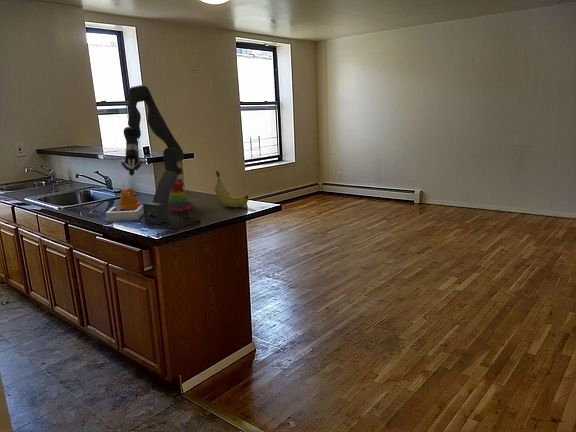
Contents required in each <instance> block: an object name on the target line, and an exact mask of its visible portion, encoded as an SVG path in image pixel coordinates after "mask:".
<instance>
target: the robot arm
mask: <svg viewBox="0 0 576 432" xmlns="http://www.w3.org/2000/svg"><path fill="white" fill-rule="evenodd" d="M140 102H145V104H146V107H147V124H148V125H149V127H150V130H151V132H152V133H153V134H155V136H157V138H159V139H160V140H161V141H162V142H163V143H164V144H165V145H166V148H165V149H164V150H163V152H162V153H163V154H162V156H163V163H164V169H165V171H170V172H176V173H177V174H178V177H177V179H182V181H183V182H184V175H183V169H182V168H181V167H179V166H178V164H177V163H179V162H182V161H183V160H184V158H185V157H184V156H185V155H184V151H183V149H182V148H181V146H180V144H179V143H178V141H177V140H176V139H175V138H174V135H173V134H172V132H171V130H170V129H169V127H168V125H167V123H166V121H165V119H164V118H163V116H162V114H161V113H160V110H159V108H158V106H157V104H156V102H155V99H154V98H153V96H152V94H151V91H150V89H149V88H148V86H146V85H145V84H141V85H140V84H139V85H135V86H131V87H130V88H129V89H128V105H129V106H128V107H129V110H128V120H127V125H128V126H125V127H124V129H123V135H124V138H125V141H126V145H125V146H126V148H125V159H124V161H121V162H120V163H121V166H122V167H123V168H124V169H125V170H126V171H128V174H129V175H130V176H134V175H135V171H137V170H139V169H140V168H141V167H142V166H143V161H142V160H139V141H138V140H139V139H140V138H141V135H142V132H141V126H140V124H141V121H142V120H141V118H142V116H141V112H140V110H139V109H138V107H137V104H138V103H140ZM172 189H173V188H172ZM183 189H184V191H185V192H186V190H185V185H183ZM168 201H170V196H169V200H168Z"/></svg>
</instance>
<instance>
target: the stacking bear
mask: <svg viewBox="0 0 576 432" xmlns="http://www.w3.org/2000/svg"><path fill="white" fill-rule="evenodd" d="M183 185H184V180H183V181H182V179H176V181H175V182H174V184H173V187H172V188H173V189H172V190H171V193H170V200H169V203H170V206H171V208H170V212H174V213H178V212H180V213H181V212H186V211H188V210H191V209H192V206H191V205H188V204H187V202H188V196H187V192H186V190H185V191H184V189H183ZM184 186H185V185H184Z"/></svg>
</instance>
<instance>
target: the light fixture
mask: <svg viewBox="0 0 576 432" xmlns="http://www.w3.org/2000/svg"><path fill="white" fill-rule="evenodd" d="M177 177H178V174H177V173H176V172H170V171H166V170H165V171H163V174H162V175H161V178H159V179H160V180H159V182H158V184H157V186H156V190H155V191H154V192H155V193H154V195H153V200H152V202H151V203H147V202H143V204H142V205H143V210H144V214H143V216H144V223H146V224H149V225H150V224H151V225H156V226H157V225H158V226H159V225H161V223H166V222H169V201H170V200H169V196H170V193H171V190H172V187H173V184H174V182H175V181H176V179H177Z"/></svg>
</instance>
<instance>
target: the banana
mask: <svg viewBox="0 0 576 432" xmlns="http://www.w3.org/2000/svg"><path fill="white" fill-rule="evenodd" d="M215 174H216V175H215V176H216V177H217V180H216V183H215V185H214V192H215V194H216V196H217V197H218V199H219V200H220V201H221V202H222V203H223V204H224V205H226V206H228V207H230V208H241V207H244V206H245V205H247V203H248V201H249V196H248V195H245V194H244V195H241V196H235V195H232V194H231V193H230V192H229V190H227V188H226V186H225V185H224V183H223V182H222V181H221V177H220V176H221V174H220V172H219V171H215Z"/></svg>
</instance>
